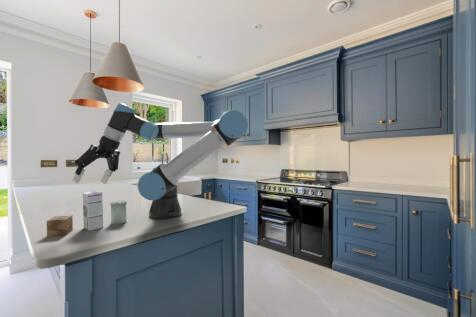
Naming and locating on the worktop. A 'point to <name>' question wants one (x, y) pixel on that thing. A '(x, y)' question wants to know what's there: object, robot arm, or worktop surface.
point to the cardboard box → (59, 226)
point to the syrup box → (93, 210)
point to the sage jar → (118, 212)
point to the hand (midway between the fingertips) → (90, 182)
